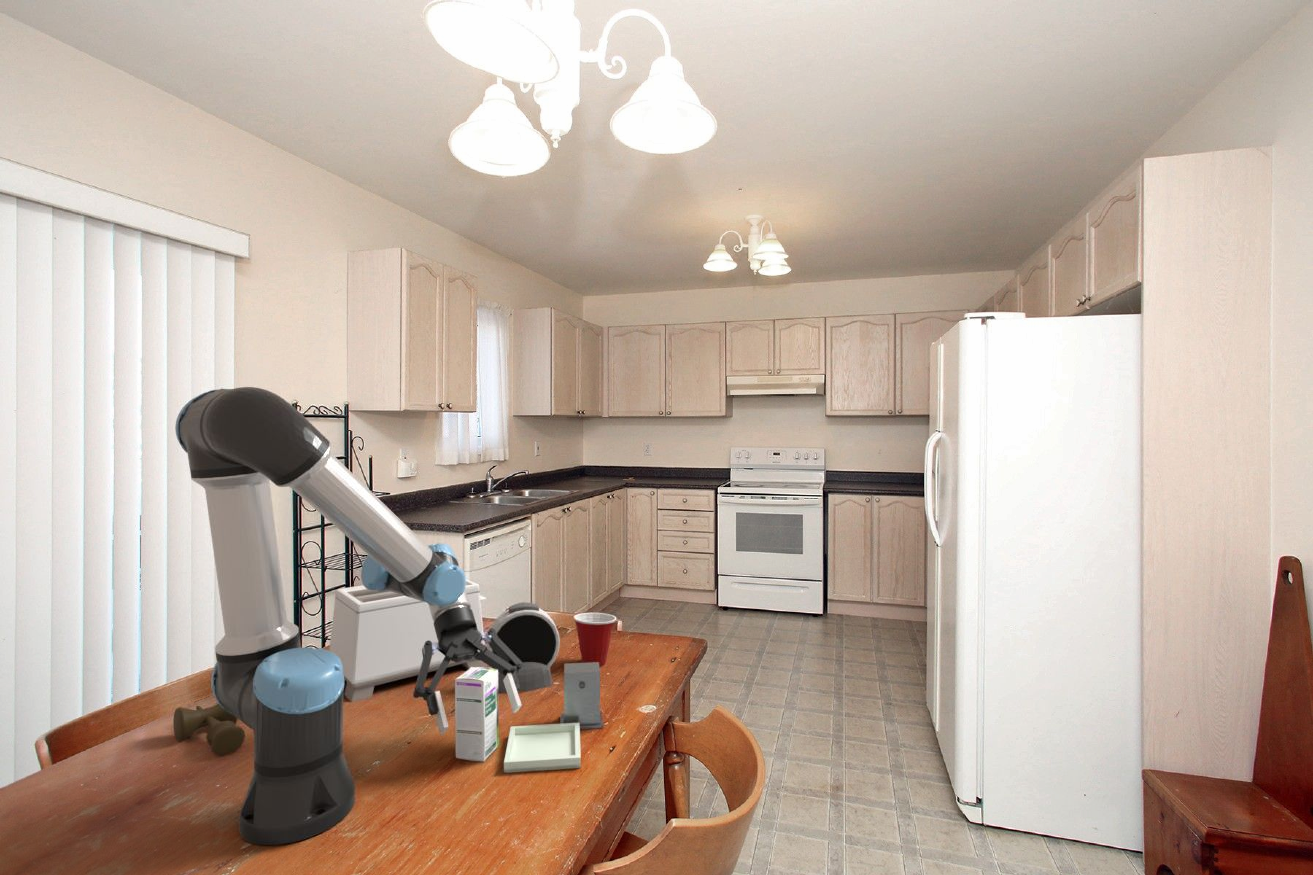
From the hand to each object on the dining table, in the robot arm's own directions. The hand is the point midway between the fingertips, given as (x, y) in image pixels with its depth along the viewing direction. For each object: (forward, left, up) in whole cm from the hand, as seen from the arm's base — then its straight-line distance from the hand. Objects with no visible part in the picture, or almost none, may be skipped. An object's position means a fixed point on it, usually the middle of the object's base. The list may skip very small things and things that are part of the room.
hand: (482, 719), depth 110 cm
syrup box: (-1, +2, -7) cm, 7 cm away
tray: (+11, +1, -7) cm, 13 cm away
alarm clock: (+5, +33, -7) cm, 34 cm away
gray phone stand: (+18, +11, -7) cm, 22 cm away
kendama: (-51, +14, -7) cm, 54 cm away
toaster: (-22, +44, -7) cm, 49 cm away
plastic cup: (+22, +43, -7) cm, 49 cm away
